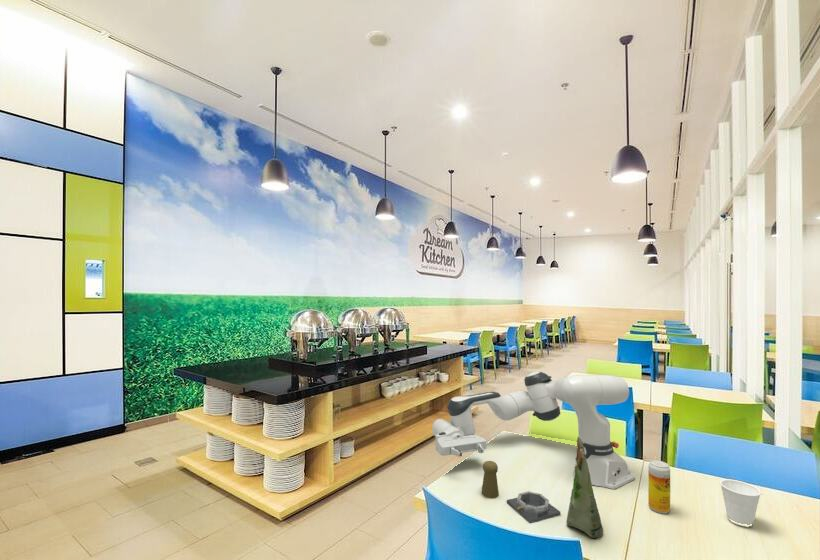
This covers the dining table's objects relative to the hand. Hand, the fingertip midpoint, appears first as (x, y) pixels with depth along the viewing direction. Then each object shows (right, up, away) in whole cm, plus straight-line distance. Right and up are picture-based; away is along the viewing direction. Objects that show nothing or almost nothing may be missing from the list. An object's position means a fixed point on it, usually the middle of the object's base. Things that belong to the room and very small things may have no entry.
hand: (471, 452), depth 150 cm
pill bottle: (+59, -10, -20) cm, 63 cm away
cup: (+80, -10, -27) cm, 85 cm away
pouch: (+29, -10, -30) cm, 43 cm away
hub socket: (+17, -9, -21) cm, 28 cm away
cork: (+5, -10, -11) cm, 16 cm away
